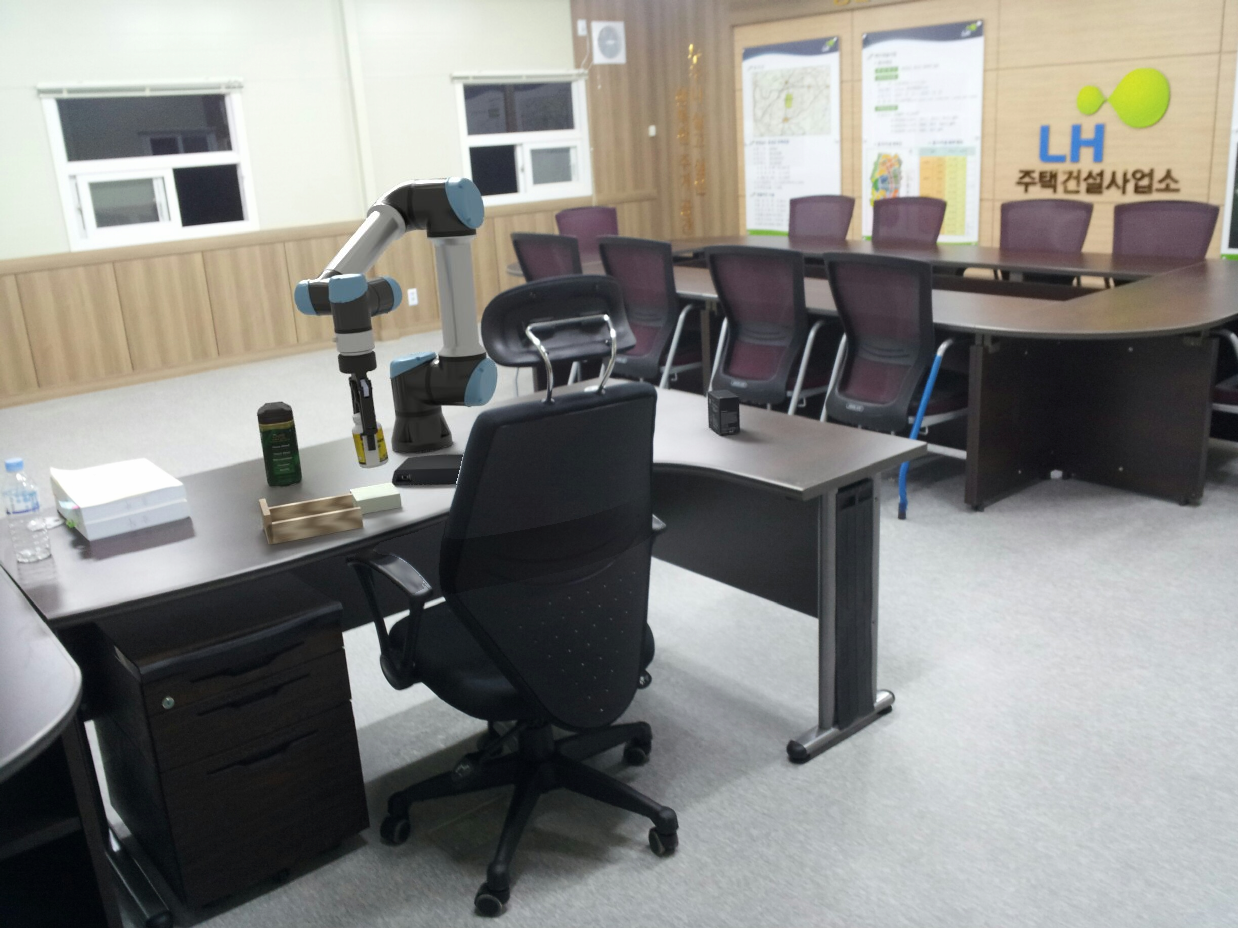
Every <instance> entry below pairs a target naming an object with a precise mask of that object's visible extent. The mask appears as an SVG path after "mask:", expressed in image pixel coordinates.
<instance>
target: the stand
mask: <svg viewBox="0 0 1238 928" xmlns="http://www.w3.org/2000/svg"><path fill="white" fill-rule="evenodd" d="M349 493H352V496H353V503H354V508H355V507H360V508H361V513H362V515H364V514H366V515H367V514H371V513H376V512H383V511H387V510H392V509H397V508H402V507H403V505H402V498H401V492H400V491H399V490H398V488H397V487H396V485H393V484H392V481H390V482H387V483H386V482H385V483H378V484H374V485H369V486H362V487H356V488H350V489H349Z"/></svg>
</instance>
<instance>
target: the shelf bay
mask: <svg viewBox="0 0 1238 928" xmlns="http://www.w3.org/2000/svg"><path fill="white" fill-rule="evenodd" d="M258 503H259V510H260V516H261V521H262V526H263V531H264V534H265V536H266V540H267V544H268V545H269V546H270V545H276V544H280V543H286V542H291V541H297V540H303V539H308V538H313V537H318V536H325V535H329V534H335V533H341V532H345V531H352V530H355V529H357V530H358V529H361V528H364V523H363V521H364V520H363V516H362V515H363V514H362V513H361V508H360V507H355V508H354V503H353V496H352V493H350V492H349V493H345V494H338V495H332V496H326V497H321V498H314V499H310V500H303V501H298V502H297V501H296V502H292V503H286V504H281V505H275V506H268V503H267V501H266V498H260V499H258Z"/></svg>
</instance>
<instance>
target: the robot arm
mask: <svg viewBox="0 0 1238 928" xmlns="http://www.w3.org/2000/svg"><path fill="white" fill-rule="evenodd" d="M484 218H485V205H484V201H483V197H482V194H481V192H480V190H479V188H478V187H477V185H476V183H474V182H473V181H472V180H471V179H469V178H466V177H454V176H450V177H442V178H426V179H425V178H423V179H410V180H406V181H404V182H401V183H399V184H397V185H395V186H393V187H392V188H390V189H389V190H387V191H386V192H385V193H383V194H382V195H381V196H380V197H379V198H378V199H376V201H375V202H374V203H373V204H372V205H371V206H370V207H369V208H368V210H367V212H366V219H365V220H364V221H363V222H362V224H361V225H360V226H359V227H358V228H357V230H356V231H355V232H354V233H353V235H351V237H350V238H349V239H348V241H346V242H345V243H344V245H343V246H342V247H341V249H340V250H339V251H338V252H337V253H336V254H335V255H334V257H333V258H332V259H331V260H330V261H329V263H328V264H327V265H326V266H325V267H324V268H323V269H322V271H321V272H320V274H318V276H317V277H316V278H314V279H312V278H309V279H303V280H301V281H299V282H298V283H297V284H296V285H295V288H294V293H293V297H294V303H295V305H296V308H297V310H298V312H300V313H301V314H303V315H306V316H316V317H321V316H332V320H333V321H332V322H333V327H334V328H333V329H334V330H333V332H334V336H335V337H333V338H332V342H333V343H335V346H336V351H337V353H339V354H337V362H338V370H339V372H340V373H342V374H343V375H345V374H346V375H350V376H348V379H347V381H348V386H349V388H350V389H349V390H350V395H351V403H352V412H353V415H354V414H356V413H359V412H360V417H361V422H362V428H363V433H360V436H363V444H364V451H365V459H366V466H372V465H378V464H380V459H379V451H378V444H377V436H376V433H378V429H377V423H376V421H377V415H376V416H375V414H376V411H375V409H376V408H375V404H374V403H375V402H374V395H373V394H374V393H373V384H372V380H371V379H369V377H368V374H367V373H369V372H374V371H375V370H376V369H377V367H378V364H377V357H376V351H374V349H375V338H374V337H375V336H374V330H373V325H372V317H373V318H374V317H377V316H381V315H384V314H389V313H391V312H393V311H394V310H397V308H398V307H399V306H400V304H401V303H402V300H403V292H402V288H401V286H400V284H399V282H397V280H396V279H395V278H392V277H390V276H386V275H385V276H376V277H374V278H366V275H367V274H368V272H369V271H370V270H371V269H372V268H373V266H374V265H375V264H376V263H377V261H378V260H379V259H380V257H382V255H383V253H384V252H385V251H386V250H388V248H389V246H390V245H391V244H392V242H393V241H398V240H400V239H401V238H402V237H403V236H404V235H405V234H406V233H408V232H412V231H426V239H427V240H428V241H429V242H430V243H431V244H432V245H433V247H434V257H435V267H436V278H437V286H438V287H437V288H438V289H437V290H438V300H439V310H440V319H441V320H440V321H441V331H442V341H443V342H442V343H443V346H442V347H441V349H440V350H439V351H438V352H437V353H438V354H436V352H435V351H432V350H429V351H428V350H426V351H421V352H420V351H419V352H415V353H409V354H406V355H403V356H399V357H397V358H395V359H393V360H392V361H391V362H390V363H389V380H390V385H391V393H392V400H393V407H394V408H393V409H394V416H395V417H394V418H395V420H394V422H393V423H394V424H393V429H392V434H391V441H390V442H391V448H392V450H393V451H395V452H398V453H403V454H404V453H405V454H417V453H428V452H433V451H437V450H441V449H444V448H446V447H449V446H451V445H452V443H453V434H452V431H451V429H450V427H449V424H448V423H447V420H446V418H445V416H444V414H443V407H444V406H445V407H446V406H448V407H450V406H451V407H467V408H472V407H482V406H485V405H486V404H489V402H490V401H491V400H492V398H493V397H494V394H495V392H496V390H497V384H498V367H497V365H496V362H495V361H494V360H493V359H492V360H493V361H494V362H495V363H494V362H493V361H492V360H491V358H489V357H488V355H487V349H486V348H485V347H484V346H483V345H482V344H481V343H480V337H479V325H478V324H479V323H478V315H477V314H478V312H477V302H476V299H477V298H476V289H475V288H476V287H475V276H474V265H473V253H472V242H473V241H474V239H475V238H476V237H477V229H479V228H481V226H483V223H484V220H485V219H484ZM485 349H486V350H485ZM437 357H438V358H437Z"/></svg>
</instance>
